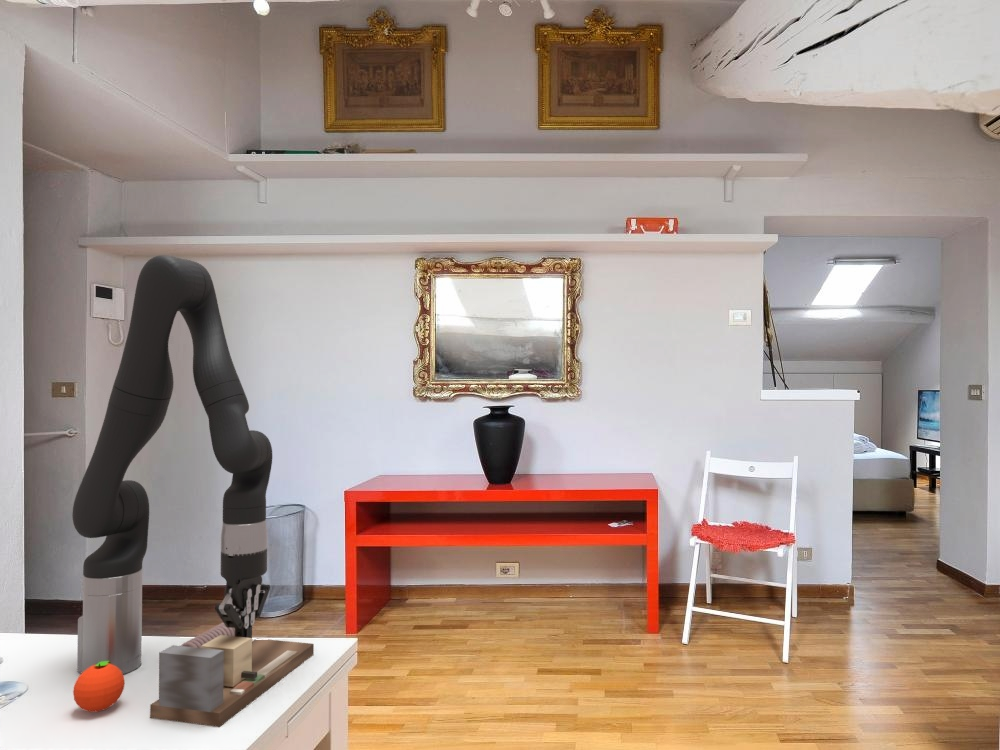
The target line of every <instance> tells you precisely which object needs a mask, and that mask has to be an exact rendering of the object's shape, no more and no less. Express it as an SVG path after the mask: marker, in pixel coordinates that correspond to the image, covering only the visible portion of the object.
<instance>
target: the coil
mask: <svg viewBox="0 0 1000 750" xmlns="http://www.w3.org/2000/svg"><path fill="white" fill-rule="evenodd" d="M253 626H254V624H253V625H252V627H253ZM220 635H226V636H235V628H227V627H226V626H225V624H224V623H223V622H221V623H219V624H217V625H215V626H213V627H211V628H210V629H207V630H206V631H204V632H202V633H200V634H199V635H197V636H195V637H193V638H191V639H189V640H187V641H186V642H183V643H182V644H181V645H180V646H186V647H196V648H201V646H202V645H204V644H205V643H207V642H209V641H211V640H213V639H214V638H216V637H218V636H220Z"/></svg>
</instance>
